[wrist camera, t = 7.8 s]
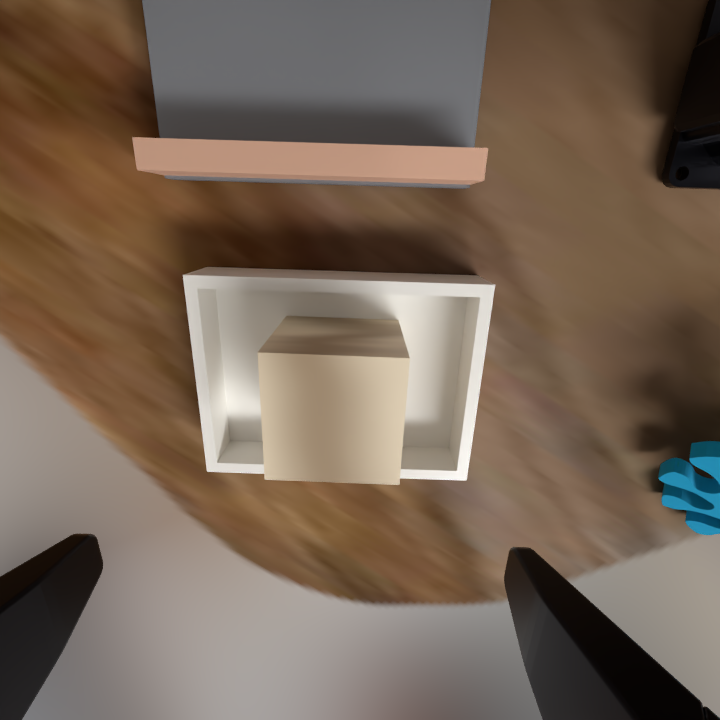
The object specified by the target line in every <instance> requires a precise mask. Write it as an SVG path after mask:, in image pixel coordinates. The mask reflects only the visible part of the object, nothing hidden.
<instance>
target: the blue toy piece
mask: <svg viewBox="0 0 720 720" xmlns="http://www.w3.org/2000/svg"><path fill="white" fill-rule="evenodd" d="M690 462H691V463H692V464H693V465H694V466H696V467H698V468H700V469H702V470H704V471H705V472H707V473H709V474H710V475H711V476H713V477H714V478H715V479H712V478H706V477H703V476H700V475H699V474H697V473H696V472H695V471H694V469H693V466H692V465H691V464H690V463H689V462H687V461H685V460H683V459H680V458H671V459H668V460H666V461H665V462H663V463H662V464H661V465H660V470H659V476H658V479H659V480H660V481H662V482H664V488H663V494H662V504H663V505H664V506H666V507H669V508H673V509H679V510H687V512H686V520H685V522H686V524H687V525H688V526H689V527H690V528H691V529H692V530H694V531H695V532H696V533H699V534H704V535H713V534H720V442H719V441H705V442H696V443H692V444H691V451H690Z"/></svg>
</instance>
